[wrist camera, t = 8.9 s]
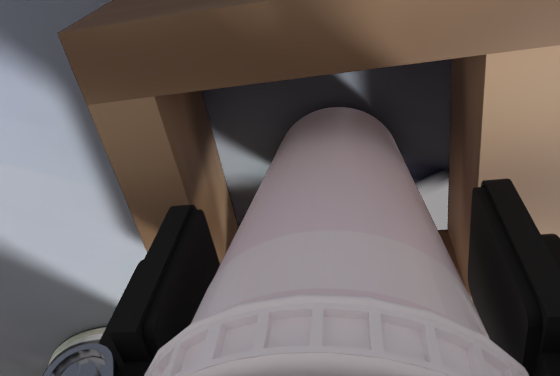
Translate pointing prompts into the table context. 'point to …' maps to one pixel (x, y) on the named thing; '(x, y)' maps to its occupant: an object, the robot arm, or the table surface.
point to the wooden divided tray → (315, 62)
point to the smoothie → (336, 272)
